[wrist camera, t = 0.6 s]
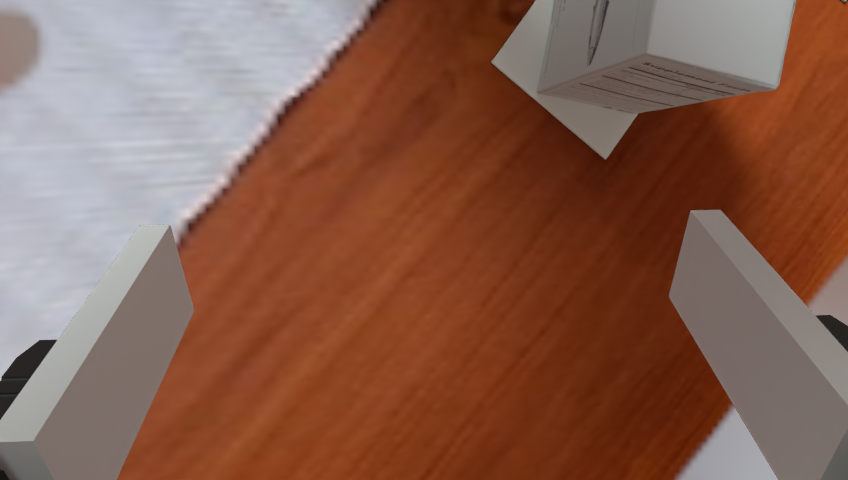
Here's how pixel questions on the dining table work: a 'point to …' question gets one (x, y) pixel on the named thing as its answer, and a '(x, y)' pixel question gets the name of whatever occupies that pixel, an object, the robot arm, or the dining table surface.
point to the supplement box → (663, 51)
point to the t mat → (524, 69)
